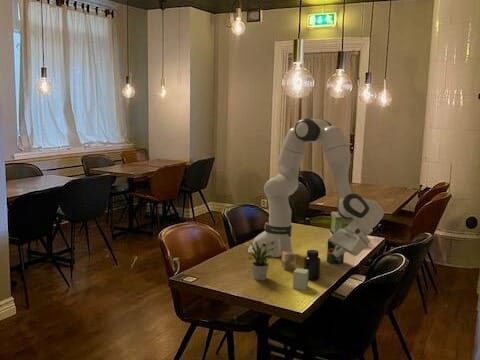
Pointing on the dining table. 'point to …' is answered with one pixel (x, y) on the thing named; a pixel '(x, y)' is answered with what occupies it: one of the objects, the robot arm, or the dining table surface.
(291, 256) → the oak block
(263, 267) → the house plant
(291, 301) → the dining table surface
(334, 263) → the canned tomato
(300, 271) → the sage block
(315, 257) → the supplement bottle
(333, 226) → the tea box
